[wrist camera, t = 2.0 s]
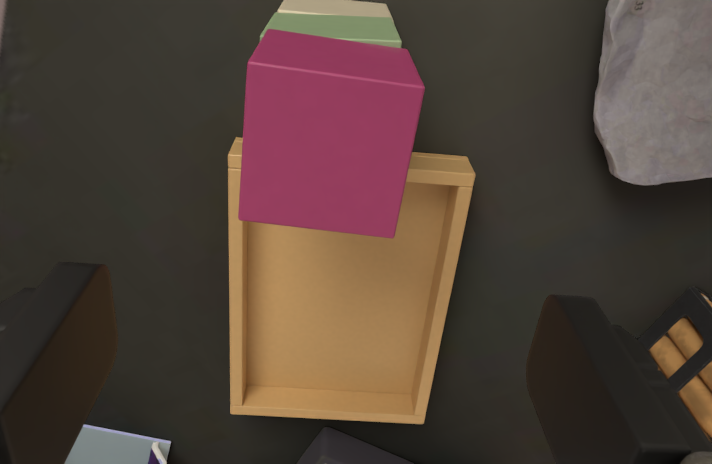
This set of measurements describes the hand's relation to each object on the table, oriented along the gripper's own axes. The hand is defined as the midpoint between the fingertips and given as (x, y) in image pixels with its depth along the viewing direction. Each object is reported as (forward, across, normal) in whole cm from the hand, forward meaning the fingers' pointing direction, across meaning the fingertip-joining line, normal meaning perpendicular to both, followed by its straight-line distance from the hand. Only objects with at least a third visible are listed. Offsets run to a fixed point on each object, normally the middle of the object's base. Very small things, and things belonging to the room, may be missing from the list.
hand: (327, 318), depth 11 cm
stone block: (+23, -18, -1) cm, 29 cm away
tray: (+23, -1, +14) cm, 27 cm away
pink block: (+13, 0, 0) cm, 13 cm away
